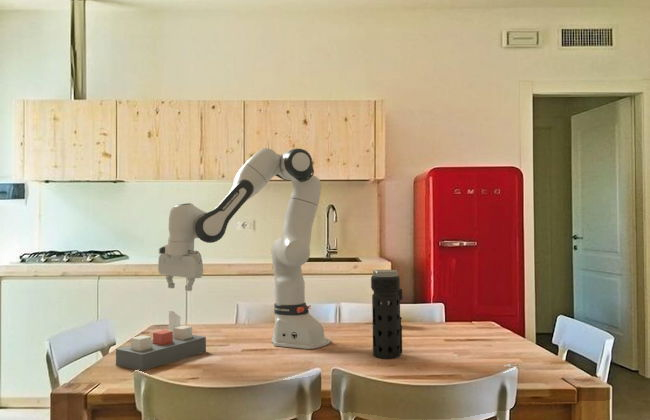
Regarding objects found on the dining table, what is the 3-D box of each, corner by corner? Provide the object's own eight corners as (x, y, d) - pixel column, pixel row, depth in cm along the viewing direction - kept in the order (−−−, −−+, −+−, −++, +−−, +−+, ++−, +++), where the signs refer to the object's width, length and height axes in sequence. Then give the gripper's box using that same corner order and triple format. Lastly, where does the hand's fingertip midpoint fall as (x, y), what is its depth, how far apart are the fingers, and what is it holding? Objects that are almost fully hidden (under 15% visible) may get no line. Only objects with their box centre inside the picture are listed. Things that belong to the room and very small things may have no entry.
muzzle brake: (398, 350, 170) (368, 352, 168) (397, 269, 170) (367, 269, 169) (407, 358, 160) (376, 360, 159) (405, 271, 161) (375, 272, 159)
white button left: (151, 352, 158) (151, 336, 158) (139, 355, 154) (139, 339, 154) (142, 350, 160) (142, 335, 160) (130, 353, 156) (130, 337, 157)
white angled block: (163, 333, 190) (168, 311, 195) (174, 340, 199) (179, 319, 203) (171, 333, 190) (177, 311, 194) (183, 341, 198) (188, 319, 203)
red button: (172, 346, 165) (172, 331, 165) (161, 349, 161) (161, 334, 161) (163, 344, 167) (163, 330, 167) (153, 347, 164) (153, 332, 164)
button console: (205, 351, 172) (205, 337, 172) (142, 371, 150) (142, 354, 150) (180, 346, 179) (180, 332, 179) (115, 364, 157) (115, 348, 157)
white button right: (192, 341, 172) (192, 326, 172) (182, 343, 168) (182, 329, 169) (183, 339, 175) (183, 325, 175) (173, 342, 171) (173, 327, 171)
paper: (529, 357, 162) (529, 354, 162) (547, 373, 144) (547, 369, 145) (451, 356, 164) (451, 352, 164) (460, 371, 147) (460, 368, 147)
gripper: (208, 250, 169) (206, 291, 169) (170, 248, 181) (169, 286, 181) (193, 251, 164) (192, 293, 164) (155, 248, 176) (154, 287, 176)
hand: (179, 289), depth 172 cm, fingers open, 8 cm apart
